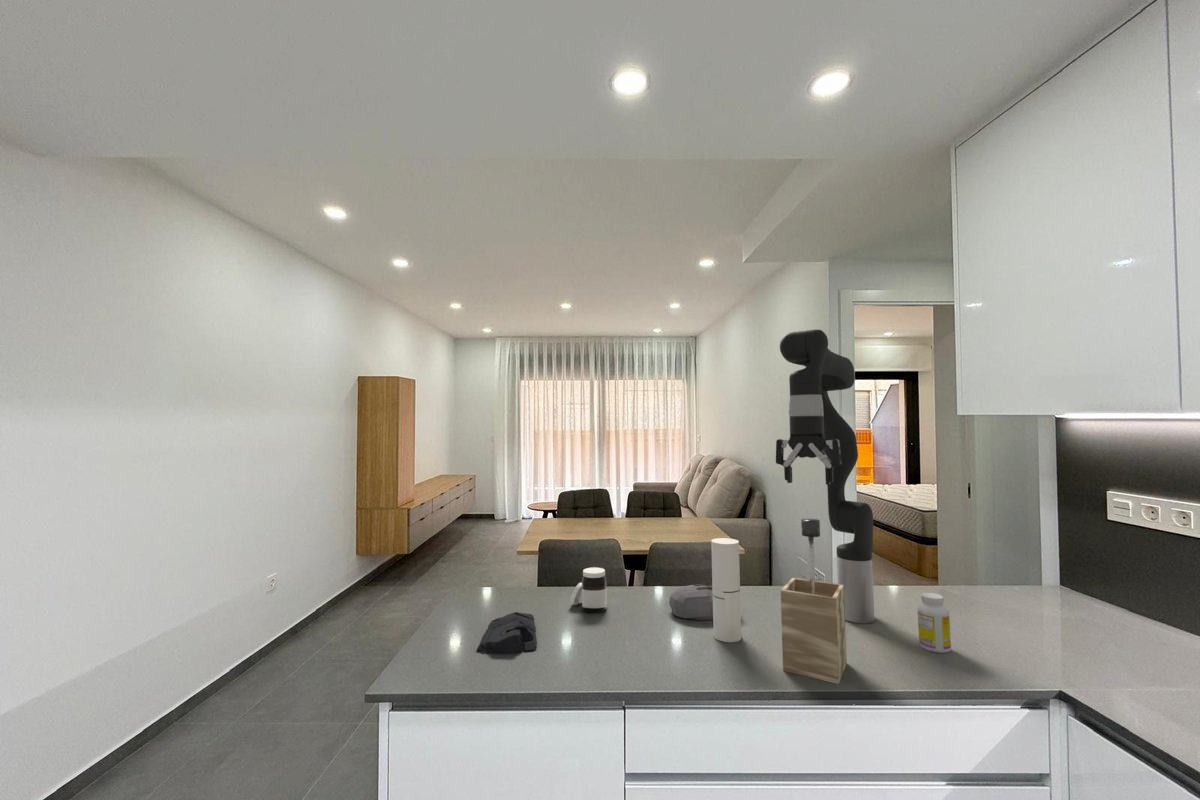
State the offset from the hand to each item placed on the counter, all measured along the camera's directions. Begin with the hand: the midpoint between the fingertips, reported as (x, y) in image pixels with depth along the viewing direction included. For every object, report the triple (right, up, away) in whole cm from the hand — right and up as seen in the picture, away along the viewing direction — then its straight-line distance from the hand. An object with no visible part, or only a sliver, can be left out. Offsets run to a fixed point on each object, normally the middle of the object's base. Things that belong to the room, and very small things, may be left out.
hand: (808, 483), depth 121 cm
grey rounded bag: (-18, -44, +33) cm, 58 cm away
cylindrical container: (-15, -43, +15) cm, 48 cm away
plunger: (0, -31, -2) cm, 31 cm away
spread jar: (-53, -45, +39) cm, 79 cm away
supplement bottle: (+34, -42, +7) cm, 55 cm away
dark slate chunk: (-73, -45, +17) cm, 87 cm away
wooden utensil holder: (+1, -42, -2) cm, 42 cm away
